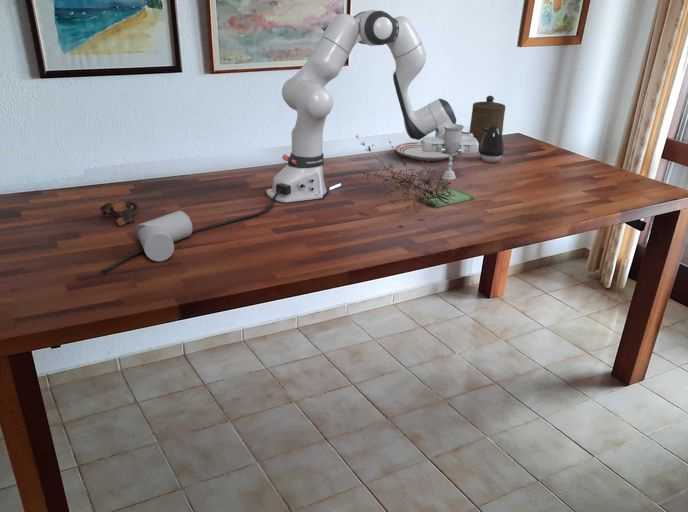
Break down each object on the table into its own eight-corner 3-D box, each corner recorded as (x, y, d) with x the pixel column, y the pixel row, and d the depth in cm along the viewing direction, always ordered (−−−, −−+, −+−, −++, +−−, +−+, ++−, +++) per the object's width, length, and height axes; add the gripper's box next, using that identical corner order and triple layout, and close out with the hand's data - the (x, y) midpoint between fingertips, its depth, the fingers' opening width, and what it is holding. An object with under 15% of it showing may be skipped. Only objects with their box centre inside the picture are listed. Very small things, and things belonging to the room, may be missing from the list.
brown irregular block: (111, 230, 223) (98, 206, 221) (108, 233, 232) (95, 210, 230) (145, 214, 227) (133, 191, 225) (141, 218, 236) (129, 195, 234)
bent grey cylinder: (127, 235, 215) (138, 260, 200) (130, 202, 211) (141, 225, 195) (185, 239, 223) (199, 264, 208) (189, 208, 219) (204, 230, 203)
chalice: (451, 181, 247) (457, 130, 238) (435, 177, 251) (439, 126, 241) (462, 176, 252) (467, 126, 243) (445, 173, 256) (450, 122, 246)
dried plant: (450, 150, 248) (346, 103, 223) (497, 183, 225) (386, 135, 200) (410, 225, 260) (307, 188, 235) (450, 264, 237) (341, 228, 212)
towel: (435, 207, 248) (435, 204, 248) (417, 199, 255) (417, 196, 255) (472, 199, 257) (472, 195, 257) (454, 191, 264) (454, 188, 264)
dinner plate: (397, 145, 318) (398, 138, 316) (457, 149, 315) (458, 142, 314) (392, 162, 295) (392, 154, 293) (457, 167, 292) (458, 159, 290)
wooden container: (491, 140, 331) (497, 92, 319) (506, 148, 319) (513, 98, 307) (462, 142, 326) (467, 93, 315) (477, 150, 314) (483, 100, 303)
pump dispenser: (475, 157, 304) (479, 122, 297) (498, 157, 306) (502, 122, 298) (481, 164, 296) (485, 128, 288) (504, 164, 297) (509, 128, 289)
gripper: (421, 131, 256) (422, 141, 244) (476, 133, 256) (481, 143, 244) (419, 148, 259) (421, 159, 248) (474, 150, 259) (479, 161, 247)
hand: (451, 151), depth 246 cm, fingers closed on chalice, 5 cm apart
